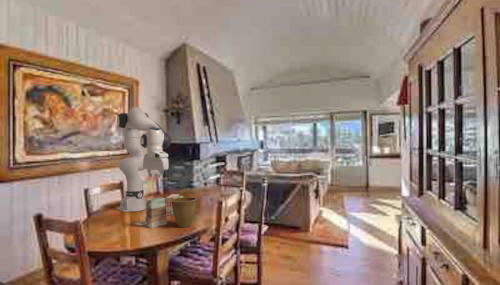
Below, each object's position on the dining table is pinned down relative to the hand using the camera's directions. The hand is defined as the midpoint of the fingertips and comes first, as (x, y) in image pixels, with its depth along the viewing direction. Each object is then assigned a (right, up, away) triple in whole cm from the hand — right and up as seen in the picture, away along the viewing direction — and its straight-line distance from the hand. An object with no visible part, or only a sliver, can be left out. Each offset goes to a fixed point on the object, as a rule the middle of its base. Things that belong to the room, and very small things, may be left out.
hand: (155, 177), depth 193 cm
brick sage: (0, -18, 0) cm, 18 cm away
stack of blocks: (+4, -29, +35) cm, 46 cm away
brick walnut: (0, -23, 0) cm, 23 cm away
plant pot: (+18, -29, -2) cm, 34 cm away
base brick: (0, -29, 0) cm, 29 cm away
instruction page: (-9, -29, +6) cm, 31 cm away
